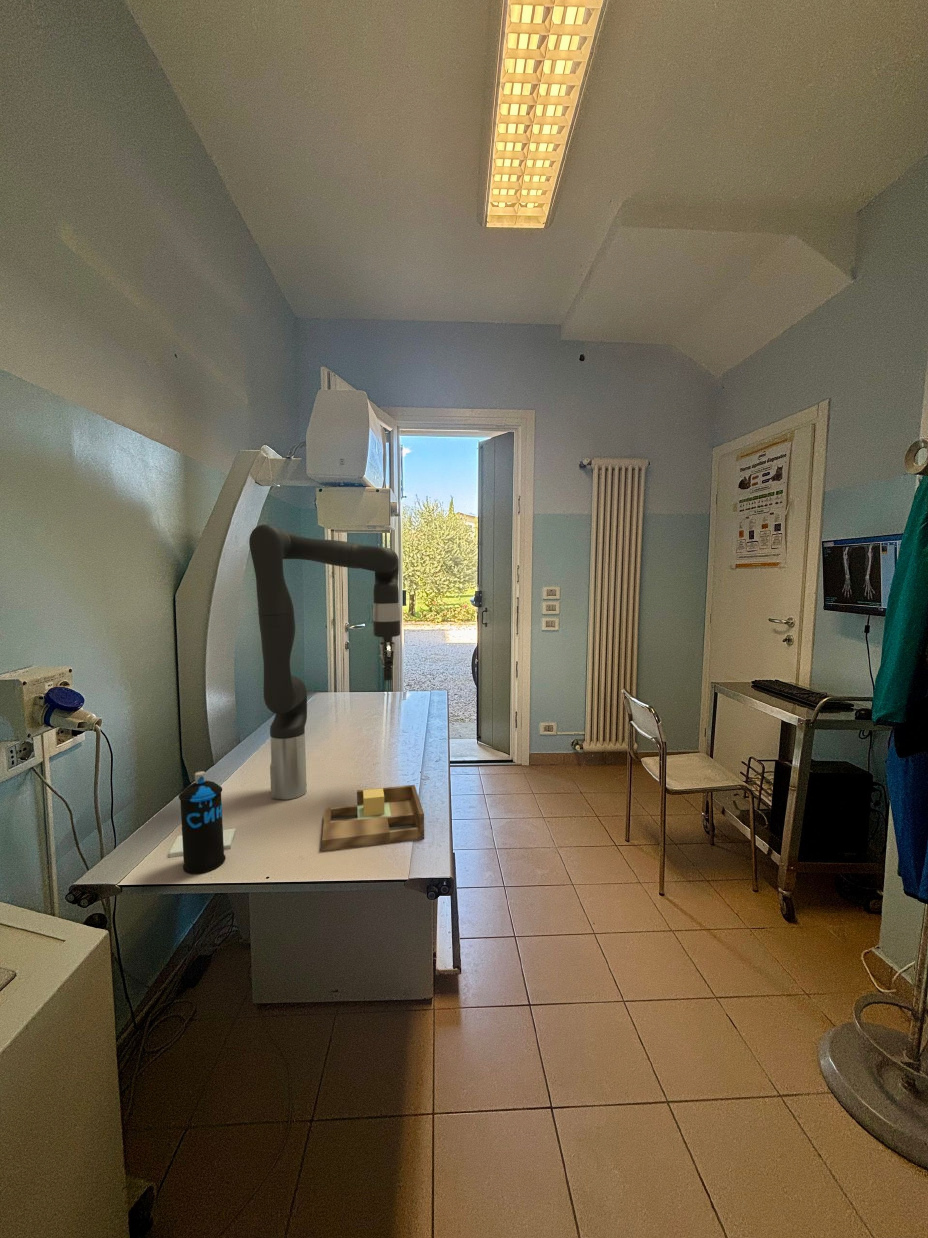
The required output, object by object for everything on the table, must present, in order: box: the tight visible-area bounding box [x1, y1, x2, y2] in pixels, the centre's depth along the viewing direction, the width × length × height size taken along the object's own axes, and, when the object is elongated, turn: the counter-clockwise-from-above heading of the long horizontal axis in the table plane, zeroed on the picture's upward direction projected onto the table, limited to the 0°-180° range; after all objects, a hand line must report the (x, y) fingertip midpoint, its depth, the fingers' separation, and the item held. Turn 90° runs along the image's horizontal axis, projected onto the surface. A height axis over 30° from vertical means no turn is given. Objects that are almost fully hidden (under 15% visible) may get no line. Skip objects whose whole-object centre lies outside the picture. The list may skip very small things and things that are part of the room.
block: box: [362, 787, 385, 816], centre depth 126 cm, size 5×5×4 cm
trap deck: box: [321, 784, 425, 852], centre depth 123 cm, size 23×17×6 cm
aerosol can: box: [178, 770, 227, 875], centre depth 107 cm, size 8×8×20 cm
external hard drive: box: [168, 828, 237, 858], centre depth 116 cm, size 2×8×12 cm
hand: (387, 679), depth 143 cm, fingers closed
